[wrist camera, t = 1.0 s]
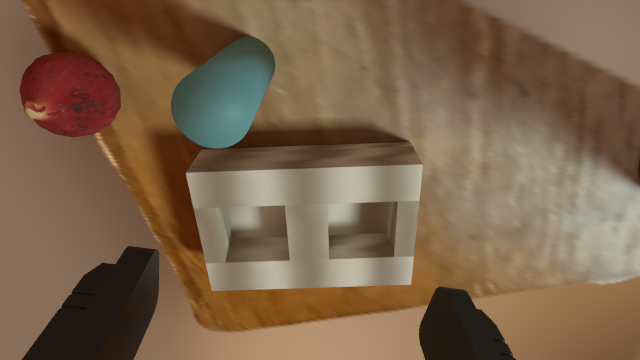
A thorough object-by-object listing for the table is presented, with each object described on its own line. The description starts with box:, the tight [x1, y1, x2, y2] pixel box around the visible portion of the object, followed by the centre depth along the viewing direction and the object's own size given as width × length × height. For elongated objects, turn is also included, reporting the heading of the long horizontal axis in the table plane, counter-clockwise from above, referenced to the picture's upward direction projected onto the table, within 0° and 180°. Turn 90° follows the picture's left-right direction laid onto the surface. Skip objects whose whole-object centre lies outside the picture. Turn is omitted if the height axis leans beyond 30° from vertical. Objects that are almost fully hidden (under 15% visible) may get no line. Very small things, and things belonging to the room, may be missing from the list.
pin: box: [171, 37, 275, 148], centre depth 24 cm, size 4×4×12 cm
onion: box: [20, 52, 121, 137], centre depth 27 cm, size 6×6×8 cm
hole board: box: [186, 142, 423, 291], centre depth 34 cm, size 18×12×4 cm, turn 92°
